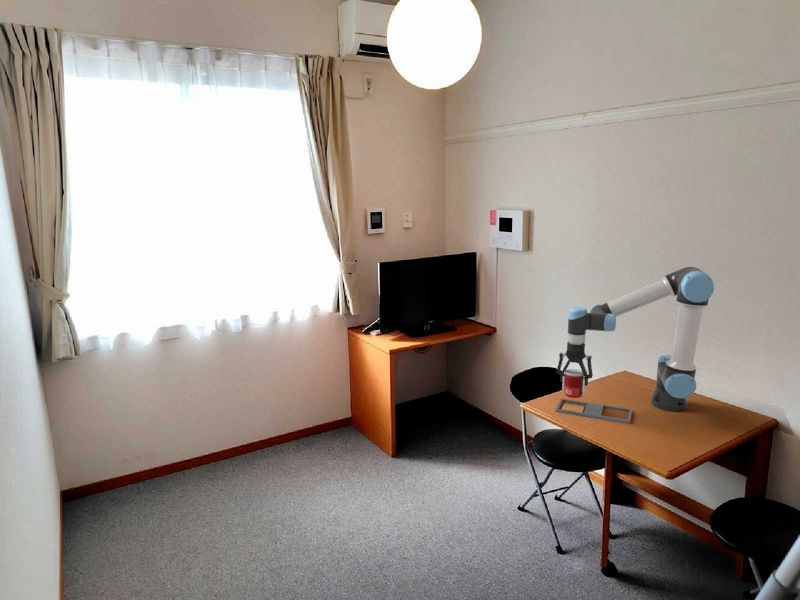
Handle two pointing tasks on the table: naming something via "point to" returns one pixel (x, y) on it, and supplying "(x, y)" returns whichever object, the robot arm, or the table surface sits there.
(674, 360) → the robot arm
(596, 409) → the rail frame
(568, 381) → the canned food
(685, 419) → the table surface
